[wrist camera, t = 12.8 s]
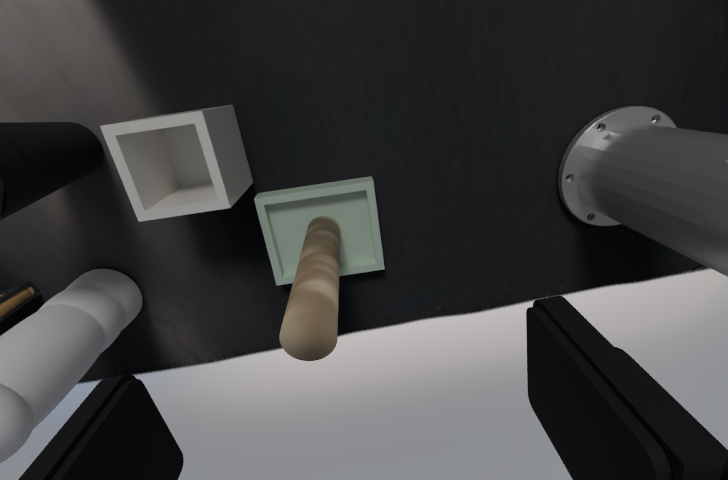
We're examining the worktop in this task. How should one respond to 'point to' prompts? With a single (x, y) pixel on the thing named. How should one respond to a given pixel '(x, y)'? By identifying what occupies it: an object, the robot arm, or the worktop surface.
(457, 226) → the worktop surface
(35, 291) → the ammunition clip
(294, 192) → the tray
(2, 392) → the water bottle
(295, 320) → the dowel
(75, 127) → the drinking cup
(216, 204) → the holder
